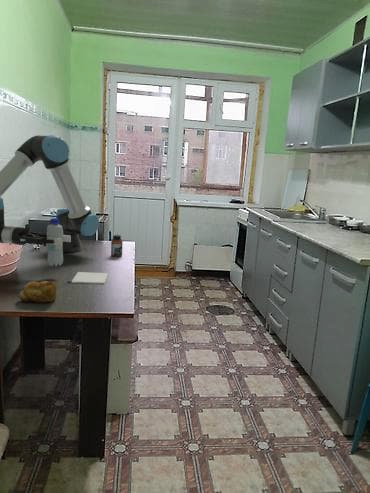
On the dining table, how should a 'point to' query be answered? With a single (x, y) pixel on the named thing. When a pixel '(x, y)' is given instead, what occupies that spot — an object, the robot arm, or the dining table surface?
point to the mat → (88, 278)
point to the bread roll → (39, 292)
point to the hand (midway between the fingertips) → (66, 240)
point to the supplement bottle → (116, 246)
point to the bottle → (55, 250)
